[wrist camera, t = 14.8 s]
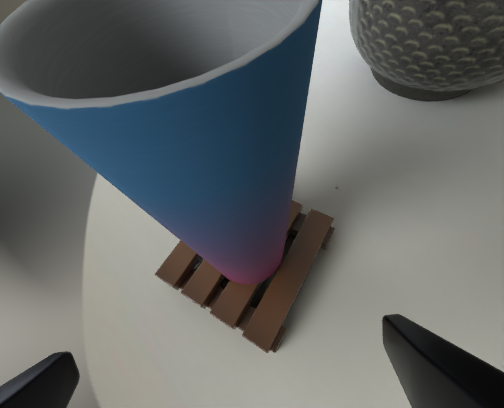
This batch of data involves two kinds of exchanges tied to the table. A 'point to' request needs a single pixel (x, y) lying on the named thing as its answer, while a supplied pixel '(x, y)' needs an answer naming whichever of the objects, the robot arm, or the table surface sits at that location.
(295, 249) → the pallet
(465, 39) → the planter
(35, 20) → the cup
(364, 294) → the table surface
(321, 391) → the table surface
